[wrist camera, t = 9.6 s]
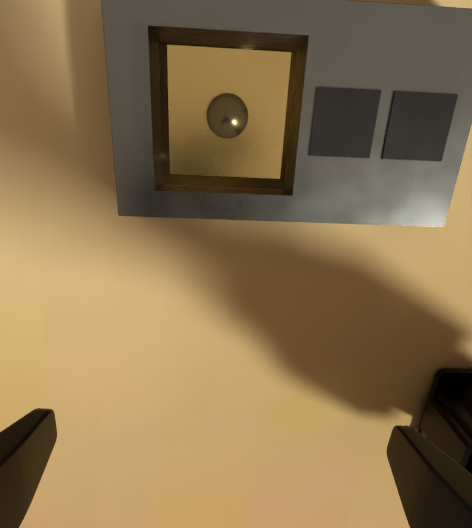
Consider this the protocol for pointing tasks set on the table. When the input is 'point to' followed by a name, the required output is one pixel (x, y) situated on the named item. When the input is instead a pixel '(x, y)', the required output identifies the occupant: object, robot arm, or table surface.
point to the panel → (307, 107)
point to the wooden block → (226, 111)
